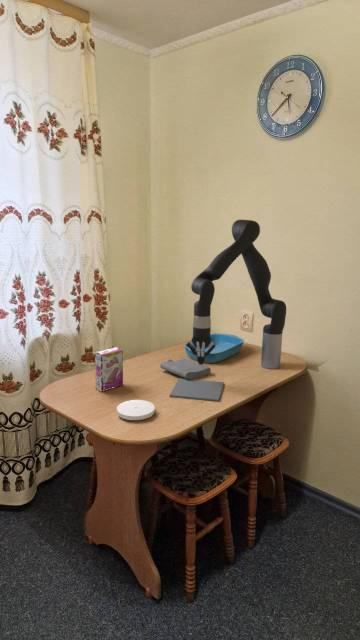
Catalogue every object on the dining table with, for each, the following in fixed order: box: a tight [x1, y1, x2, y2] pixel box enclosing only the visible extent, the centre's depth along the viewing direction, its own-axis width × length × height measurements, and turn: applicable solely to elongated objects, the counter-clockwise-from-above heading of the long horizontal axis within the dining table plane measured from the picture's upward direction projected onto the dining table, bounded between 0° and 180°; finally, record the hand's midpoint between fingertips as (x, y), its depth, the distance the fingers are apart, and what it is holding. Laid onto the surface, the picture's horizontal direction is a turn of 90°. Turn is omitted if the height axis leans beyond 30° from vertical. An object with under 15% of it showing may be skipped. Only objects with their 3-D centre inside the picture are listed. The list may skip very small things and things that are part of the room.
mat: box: [169, 377, 225, 403], centre depth 183 cm, size 19×20×1 cm
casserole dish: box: [183, 333, 245, 364], centre depth 229 cm, size 37×22×7 cm, turn 142°
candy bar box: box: [94, 346, 124, 392], centre depth 183 cm, size 11×5×16 cm, turn 134°
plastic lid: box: [116, 399, 156, 421], centre depth 161 cm, size 14×14×2 cm
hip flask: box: [159, 357, 212, 380], centre depth 203 cm, size 16×4×20 cm
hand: (200, 364), depth 188 cm, fingers closed
